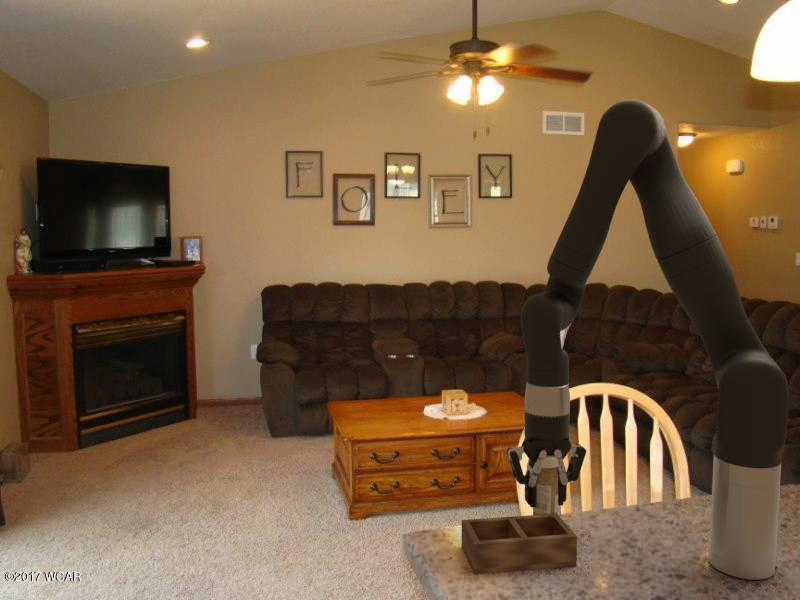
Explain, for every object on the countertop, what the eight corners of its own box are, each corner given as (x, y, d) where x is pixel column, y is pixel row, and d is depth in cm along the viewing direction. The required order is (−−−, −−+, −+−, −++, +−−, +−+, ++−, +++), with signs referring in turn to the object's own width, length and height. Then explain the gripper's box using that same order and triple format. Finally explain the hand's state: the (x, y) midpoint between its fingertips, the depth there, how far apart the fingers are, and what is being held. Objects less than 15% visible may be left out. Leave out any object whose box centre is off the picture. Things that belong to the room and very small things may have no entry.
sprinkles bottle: (563, 529, 122) (565, 454, 120) (544, 536, 120) (546, 459, 118) (544, 520, 126) (546, 447, 124) (525, 526, 123) (527, 452, 122)
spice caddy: (556, 541, 118) (556, 513, 117) (576, 566, 109) (577, 536, 109) (461, 548, 116) (461, 520, 115) (474, 574, 107) (474, 544, 107)
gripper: (513, 416, 115) (512, 516, 117) (596, 412, 117) (593, 510, 119) (500, 404, 123) (499, 499, 125) (578, 400, 125) (576, 493, 127)
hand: (545, 504), depth 122 cm, fingers closed on sprinkles bottle, 4 cm apart
